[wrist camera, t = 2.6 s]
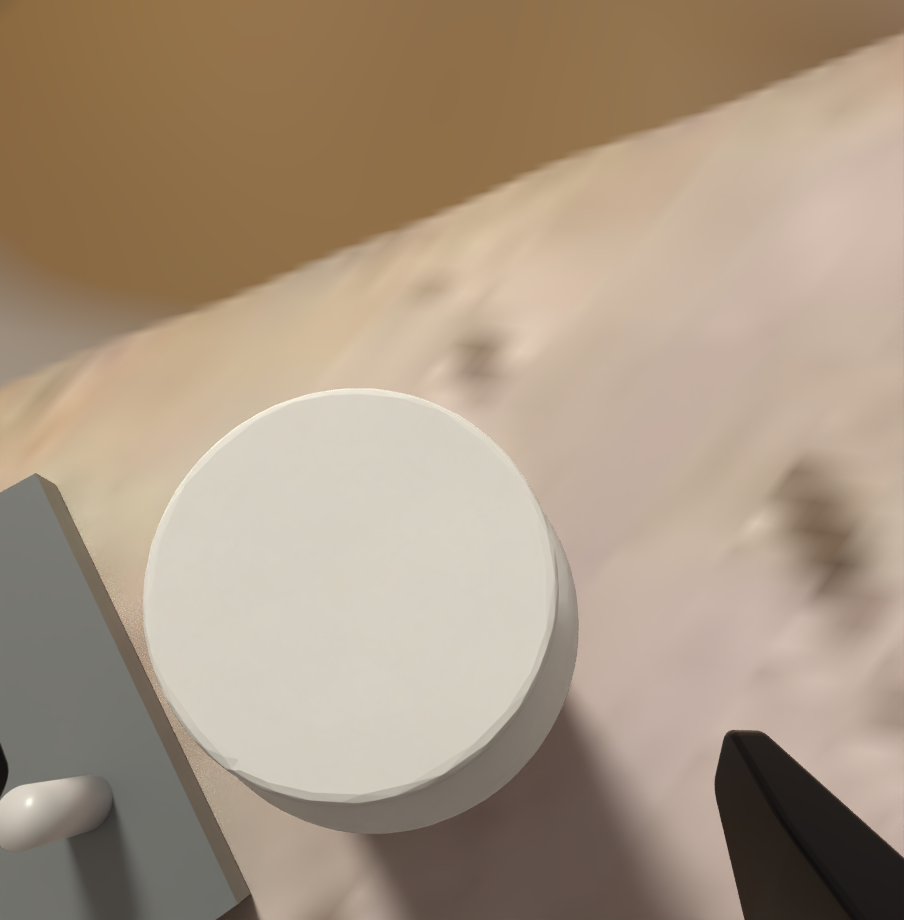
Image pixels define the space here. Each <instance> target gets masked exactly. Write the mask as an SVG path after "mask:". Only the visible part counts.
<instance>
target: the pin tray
mask: <svg viewBox="0 0 904 920" xmlns="http://www.w3.org/2000/svg"><path fill="white" fill-rule="evenodd" d="M0 743H1V745H2V748H3V751H4V754H5V756H6V759H7V762H8V768H9V773H8V779H7V783H6V786H5V789H4V791H3V793H2V795H1V797H0V920H216V919H218V918H219V917H220V916H222V915H223V914H225V913H226V912H227V911H229V910H230V909H232V908H233V907H235V906H236V905H237V904H239V903H240V902H241V901H242V900H243V899H245V898H246V897H247V896H248V895H250V894H251V893H250V891H249V889H248V887H247V885H246V883H245V880H244V878H243V876H242V874H241V872H240V870H239V868H238V866H237V864H236V862H235V860H234V857H233V855H232V853H231V851H230V849H229V847H228V845H227V843H226V841H225V839H224V836H223V834H222V832H221V830H220V828H219V826H218V824H217V822H216V820H215V818H214V815H213V813H212V811H211V809H210V807H209V805H208V803H207V801H206V799H205V797H204V795H203V792H202V790H201V788H200V786H199V784H198V782H197V780H196V778H195V776H194V774H193V771H192V769H191V767H190V765H189V763H188V761H187V759H186V757H185V755H184V753H183V751H182V748H181V746H180V744H179V742H178V740H177V738H176V736H175V734H174V732H173V730H172V727H171V725H170V723H169V721H168V719H167V717H166V715H165V713H164V711H163V709H162V706H161V704H160V702H159V700H158V698H157V696H156V694H155V692H154V690H153V688H152V686H151V683H150V681H149V679H148V677H147V675H146V673H145V671H144V669H143V667H142V665H141V662H140V660H139V658H138V656H137V654H136V652H135V650H134V648H133V646H132V644H131V642H130V639H129V637H128V635H127V633H126V631H125V629H124V627H123V625H122V623H121V621H120V618H119V616H118V614H117V612H116V610H115V608H114V606H113V604H112V602H111V600H110V597H109V595H108V593H107V591H106V589H105V587H104V585H103V583H102V581H101V579H100V577H99V574H98V572H97V570H96V568H95V566H94V564H93V562H92V560H91V558H90V556H89V553H88V551H87V549H86V547H85V545H84V543H83V541H82V539H81V537H80V535H79V533H78V530H77V528H76V526H75V524H74V522H73V520H72V518H71V516H70V514H69V512H68V509H67V507H66V505H65V503H64V501H63V499H62V497H61V495H60V493H59V491H58V488H57V486H56V485H55V484H54V483H52V482H50V481H48V480H47V479H45V478H43V477H41V476H40V475H38V474H36V473H35V474H33V475H31V476H30V477H28V478H26V479H24V480H22V481H20V482H19V483H17V484H15V485H13V486H11V487H10V488H8V489H6V490H4V491H2V492H1V493H0Z"/></svg>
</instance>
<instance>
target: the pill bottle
mask: <svg viewBox="0 0 904 920" xmlns="http://www.w3.org/2000/svg"><path fill="white" fill-rule="evenodd" d="M143 622H144V633H145V638H146V643H147V648H148V652H149V657H150V660H151V663H152V666H153V670H154V673H155V676H156V678H157V681H158V684H159V686H160V688H161V690H162V692H163V694H164V696H165V698H166V700H167V702H168V705H169V707H170V708H171V710H172V711H173V713H174V715H175V716H176V718H177V719H178V721H179V722H180V723H181V725H182V726H183V727H184V729H185V730H186V732H187V733H188V734H189V736H190V737H191V738H192V739H193V740H194V741H195V742H196V743H197V744H198V745H199V746H200V747H201V748H202V749H203V750H204V752H205V753H206V754H207V755H208V756H210V757H211V758H212V759H213V760H215V761H216V762H217V763H218V764H220V765H221V766H222V767H223V768H225V769H226V770H227V771H228V772H230V773H232V774H233V775H235V776H236V777H237V778H238V779H239V780H240V781H241V782H243V783H244V784H245V785H246V786H248V787H249V788H250V789H251V790H252V791H254V792H255V793H256V794H258V795H259V796H260V797H262V798H263V799H264V800H266V801H267V802H269V803H270V804H272V805H274V806H275V807H277V808H279V809H281V810H282V811H284V812H287V813H289V814H291V815H293V816H295V817H297V818H300V819H302V820H304V821H307V822H310V823H313V824H316V825H319V826H322V827H325V828H329V829H334V830H338V831H345V832H352V833H360V834H388V833H396V832H404V831H410V830H414V829H419V828H423V827H427V826H431V825H434V824H436V823H439V822H442V821H444V820H447V819H450V818H452V817H454V816H457V815H459V814H461V813H463V812H465V811H467V810H469V809H471V808H472V807H474V806H476V805H478V804H479V803H481V802H483V801H484V800H486V799H487V798H489V797H490V796H492V795H493V794H495V793H496V792H497V791H499V790H500V789H501V788H502V787H503V786H505V785H506V784H507V783H508V782H509V781H510V780H512V779H513V778H514V777H515V775H516V774H517V773H518V772H519V771H520V770H521V769H522V768H523V767H524V766H525V765H526V764H527V763H528V761H529V760H530V759H531V758H532V757H533V755H534V754H535V753H536V752H537V750H538V749H539V748H540V746H541V745H542V743H543V741H544V740H545V738H546V737H547V735H548V734H549V732H550V730H551V729H552V727H553V725H554V723H555V721H556V719H557V717H558V715H559V713H560V711H561V708H562V706H563V704H564V701H565V699H566V696H567V693H568V690H569V687H570V683H571V680H572V676H573V672H574V668H575V662H576V656H577V646H578V625H579V623H578V607H577V597H576V590H575V585H574V581H573V577H572V573H571V569H570V565H569V563H568V560H567V557H566V554H565V552H564V549H563V547H562V544H561V542H560V540H559V538H558V536H557V534H556V532H555V530H554V528H553V526H552V525H551V523H550V521H549V519H548V518H547V516H546V515H545V513H544V512H543V510H542V508H541V505H540V503H539V501H538V499H537V498H536V496H535V494H534V492H533V490H532V488H531V486H530V485H529V483H528V481H527V480H526V479H525V477H524V476H523V474H522V473H521V471H520V470H519V469H518V467H517V466H516V464H515V463H514V461H513V460H512V459H511V458H510V457H509V456H508V455H507V454H506V453H505V452H504V451H503V450H502V449H501V448H500V447H499V446H498V445H497V444H496V443H495V442H494V441H493V440H492V439H491V438H490V437H489V436H488V435H486V434H485V433H484V432H482V431H481V430H480V429H479V428H477V427H476V426H475V425H473V424H472V423H470V422H469V421H467V420H466V419H464V418H463V417H461V416H459V415H457V414H455V413H453V412H451V411H449V410H447V409H445V408H443V407H441V406H439V405H437V404H434V403H432V402H430V401H427V400H424V399H422V398H419V397H415V396H412V395H408V394H404V393H399V392H393V391H388V390H381V389H354V388H351V389H337V390H329V391H323V392H317V393H311V394H307V395H304V396H301V397H298V398H295V399H291V400H288V401H285V402H283V403H280V404H277V405H275V406H273V407H271V408H269V409H267V410H265V411H263V412H260V413H258V414H257V415H255V416H253V417H252V418H250V419H248V420H247V421H245V422H243V423H242V424H240V425H238V426H237V427H236V428H234V429H233V430H232V431H231V432H229V433H228V434H227V435H226V436H224V437H223V438H222V439H220V440H219V441H218V442H217V443H216V444H215V445H214V446H213V447H212V448H211V449H210V450H209V451H208V452H207V453H206V454H205V455H204V456H203V457H202V458H201V459H200V460H199V461H198V462H197V463H196V464H195V466H194V467H193V468H192V469H191V471H190V472H189V473H188V474H187V476H186V477H185V478H184V480H183V481H182V482H181V484H180V485H179V487H178V489H177V490H176V492H175V493H174V495H173V497H172V499H171V500H170V502H169V504H168V506H167V508H166V510H165V512H164V514H163V516H162V518H161V521H160V523H159V525H158V528H157V531H156V533H155V536H154V539H153V541H152V544H151V548H150V553H149V558H148V563H147V567H146V572H145V580H144V592H143Z"/></svg>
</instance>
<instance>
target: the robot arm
mask: <svg viewBox="0 0 904 920" xmlns="http://www.w3.org/2000/svg"><path fill="white" fill-rule="evenodd" d="M8 773H9V768H8V762H7V759H6V756H5V754H4V751H3V748H2V745H1V743H0V797H1V795H2V793H3V791H4V789H5V786H6V783H7V779H8ZM715 795H716V801H717V805H718V809H719V813H720V818H721V822H722V826H723V830H724V835H725V839H726V843H727V847H728V852H729V856H730V860H731V864H732V869H733V873H734V877H735V882H736V886H737V890H738V894H739V899H740V903H741V907H742V911H743V915H744V919H745V920H904V858H903V857H902V856H901V855H900V854H899V853H898V852H897V851H896V850H894V849H893V848H892V847H891V846H890V845H889V844H888V843H887V842H886V841H884V840H883V839H882V838H881V837H880V836H879V835H878V834H877V833H876V832H874V831H873V830H872V829H871V828H870V827H869V826H868V825H867V824H866V823H864V822H863V821H862V820H861V819H860V818H859V817H858V816H857V815H856V814H854V813H853V812H852V811H851V810H850V809H849V808H848V807H847V806H846V805H844V804H843V803H842V802H841V801H840V800H839V799H838V798H837V797H836V796H834V795H833V794H832V793H831V792H830V791H829V790H828V789H827V788H826V787H824V786H823V785H822V784H821V783H820V782H819V781H818V780H817V779H816V778H814V777H813V776H812V775H811V774H810V773H809V772H808V771H807V770H806V769H804V768H803V767H802V766H801V765H800V764H799V763H798V762H797V761H796V760H794V759H793V758H792V757H791V756H790V755H789V754H788V753H787V752H786V751H784V750H783V749H782V748H781V747H780V746H779V745H778V744H777V743H776V742H774V741H773V740H772V739H771V738H770V737H769V736H768V735H766V734H765V733H763V732H761V731H752V730H731V731H729V732H727V733H726V735H725V737H724V740H723V744H722V748H721V753H720V757H719V762H718V766H717V771H716V775H715Z"/></svg>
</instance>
